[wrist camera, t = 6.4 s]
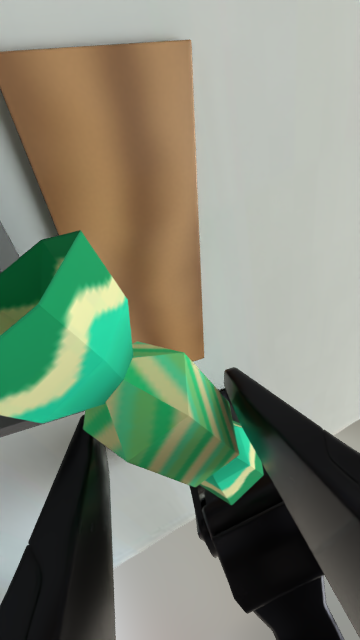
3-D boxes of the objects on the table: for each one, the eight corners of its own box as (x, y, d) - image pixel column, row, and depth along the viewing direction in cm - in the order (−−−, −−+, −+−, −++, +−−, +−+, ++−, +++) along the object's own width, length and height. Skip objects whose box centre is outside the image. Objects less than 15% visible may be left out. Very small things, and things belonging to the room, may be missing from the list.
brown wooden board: (187, 42, 11) (191, 39, 11) (202, 353, 24) (204, 358, 23) (-11, 55, 10) (-15, 52, 9) (117, 379, 22) (118, 384, 22)
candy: (-95, 357, 5) (-65, 436, 3) (23, 243, 7) (119, 220, 4) (180, 472, 13) (256, 521, 10) (206, 410, 14) (280, 438, 12)
